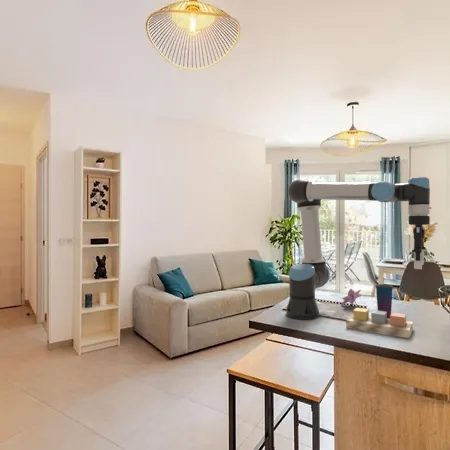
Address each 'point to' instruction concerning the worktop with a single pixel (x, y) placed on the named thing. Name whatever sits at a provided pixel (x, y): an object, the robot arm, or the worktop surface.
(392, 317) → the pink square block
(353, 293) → the lily
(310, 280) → the robot arm
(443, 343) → the worktop surface
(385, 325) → the button board
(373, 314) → the grey block
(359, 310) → the yellow block
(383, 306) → the cup
